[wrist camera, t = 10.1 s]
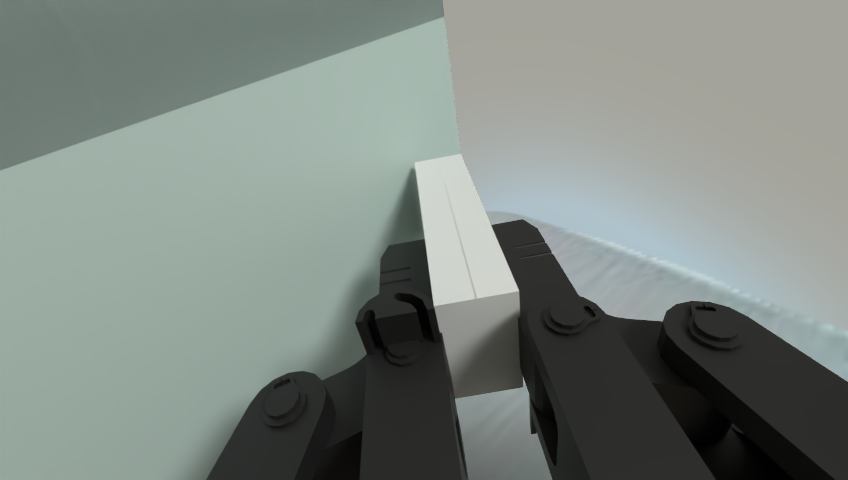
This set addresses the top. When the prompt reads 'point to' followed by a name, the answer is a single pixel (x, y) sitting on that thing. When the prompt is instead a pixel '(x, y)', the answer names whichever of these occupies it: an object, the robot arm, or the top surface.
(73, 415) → the gate
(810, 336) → the top surface
